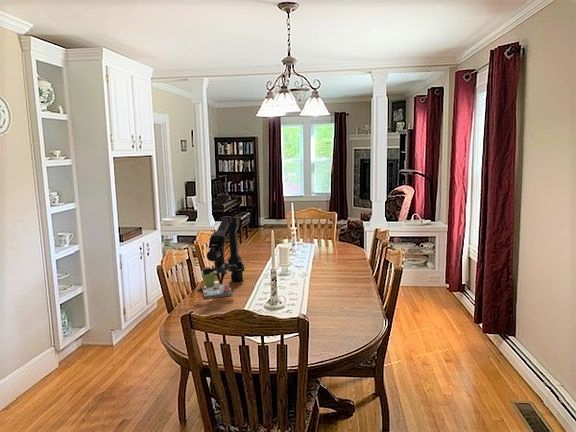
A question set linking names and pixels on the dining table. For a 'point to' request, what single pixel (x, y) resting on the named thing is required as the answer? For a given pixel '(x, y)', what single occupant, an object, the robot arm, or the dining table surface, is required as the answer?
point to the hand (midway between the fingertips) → (221, 284)
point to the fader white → (216, 284)
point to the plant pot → (209, 279)
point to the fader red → (226, 288)
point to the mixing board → (215, 291)
